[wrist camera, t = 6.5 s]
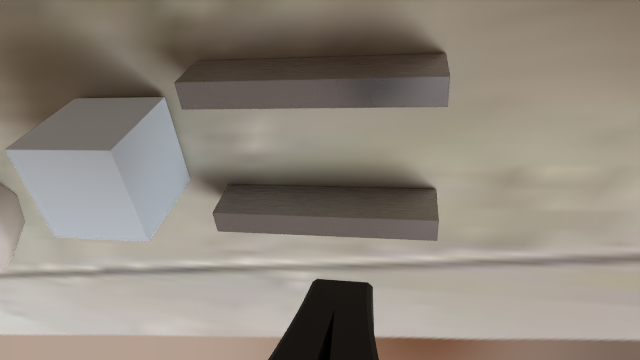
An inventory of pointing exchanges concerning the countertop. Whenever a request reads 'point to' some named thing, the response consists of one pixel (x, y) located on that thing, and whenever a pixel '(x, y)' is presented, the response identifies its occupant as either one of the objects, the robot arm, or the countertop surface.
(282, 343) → the robot arm
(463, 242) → the countertop surface
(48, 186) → the block
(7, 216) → the salt shaker
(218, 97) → the grey flat bars
